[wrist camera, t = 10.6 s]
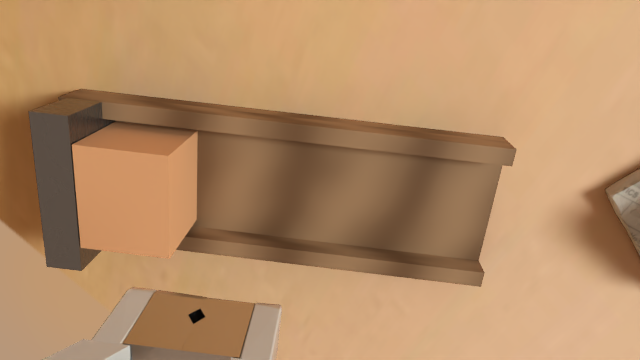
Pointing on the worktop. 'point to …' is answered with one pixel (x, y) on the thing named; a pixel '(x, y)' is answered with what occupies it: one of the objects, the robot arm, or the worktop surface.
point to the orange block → (136, 188)
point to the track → (331, 188)
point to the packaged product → (627, 204)
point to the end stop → (62, 176)
